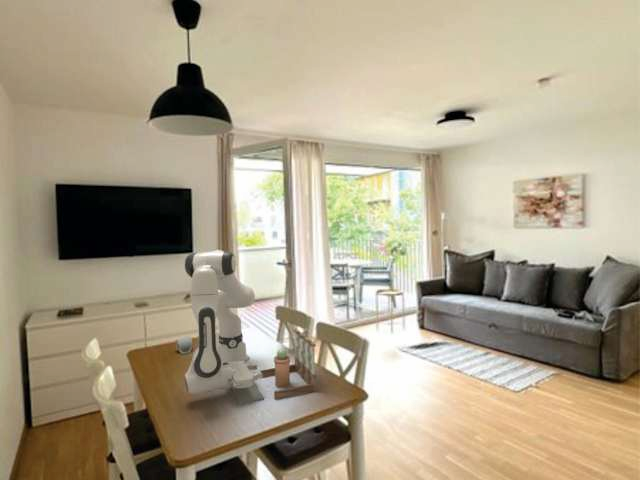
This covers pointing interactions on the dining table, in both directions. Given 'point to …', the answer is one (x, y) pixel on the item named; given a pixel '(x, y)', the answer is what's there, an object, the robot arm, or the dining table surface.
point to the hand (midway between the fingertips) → (259, 370)
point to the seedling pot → (282, 369)
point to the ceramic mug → (184, 344)
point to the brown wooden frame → (299, 367)
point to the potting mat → (248, 394)
